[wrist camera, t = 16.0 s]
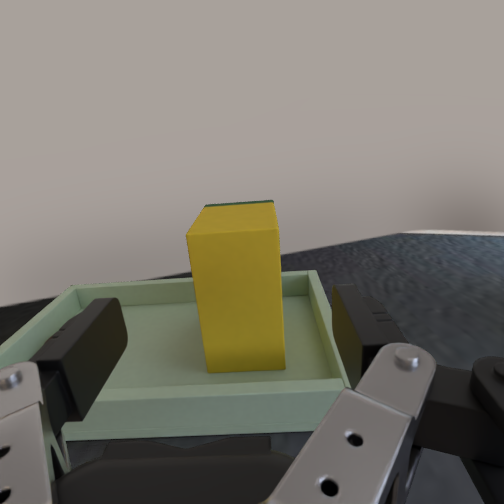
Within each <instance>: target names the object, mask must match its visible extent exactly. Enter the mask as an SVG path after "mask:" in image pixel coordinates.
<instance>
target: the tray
mask: <svg viewBox="0 0 504 504" xmlns="http://www.w3.org/2000/svg"><path fill="white" fill-rule="evenodd" d="M281 281H282V301H283V321H284V341H285V361H286V369H285V370H265V371H245V372H225V373H208V372H207V366H206V360H205V353H204V347H203V341H202V334H201V328H200V322H199V315H198V309H197V303H196V296H195V290H194V284H193V278H179V279H163V280H147V281H131V282H115V283H99V284H84V285H71V286H70V287H69V288H67V289H66V290H65V291H64V292H63V293H62V294H60V295H59V296H58V297H57V298H56V299H55V300H53V301H52V302H51V303H50V304H49V305H48V306H46V307H45V308H44V309H43V310H42V311H41V312H39V313H38V314H37V315H36V316H35V317H33V318H32V319H31V320H30V321H29V322H28V323H26V324H25V325H24V326H23V327H22V328H21V329H19V330H18V331H17V332H16V333H15V334H14V335H12V336H11V337H10V338H9V339H8V340H7V341H5V342H4V343H3V344H2V345H1V346H0V369H1V368H3V367H6V366H8V365H11V364H14V363H18V362H23V361H28V360H29V359H30V358H31V357H32V356H33V355H34V354H35V353H36V352H37V351H38V350H39V349H40V348H41V347H42V346H43V345H44V343H45V342H46V341H47V340H48V339H49V338H50V337H51V336H52V335H54V334H55V333H56V332H57V331H59V329H60V328H61V327H62V326H63V325H64V324H65V323H66V322H67V321H68V320H69V319H71V318H72V317H74V316H76V315H77V314H79V313H80V312H82V311H83V310H84V309H85V308H86V307H87V306H88V305H89V304H90V303H91V302H92V301H93V300H94V299H96V298H113V297H116V298H117V299H118V300H119V302H120V305H121V309H122V313H123V317H124V321H125V325H126V328H127V333H128V343H127V347H126V349H125V351H124V353H123V355H122V356H121V358H120V360H119V361H118V363H117V365H116V366H115V368H114V370H113V371H112V373H111V375H110V376H109V378H108V380H107V381H106V383H105V385H104V386H103V388H102V390H101V391H100V393H99V395H98V396H97V398H96V400H95V401H94V403H93V405H92V406H91V408H90V410H89V411H88V413H87V415H86V416H85V418H84V420H83V421H82V422H65V424H64V425H63V427H62V431H63V434H64V436H65V441H73V440H99V439H124V438H149V437H174V436H199V435H225V434H250V433H275V432H300V431H315V429H316V428H317V426H318V425H319V423H320V422H321V420H322V419H323V417H324V416H325V414H326V413H327V411H328V410H329V408H330V407H331V405H332V404H333V402H334V401H335V400H336V398H337V397H338V395H339V394H340V392H341V391H342V390H343V389H344V388H345V387H349V388H351V386H350V383H349V381H348V378H347V375H346V372H345V369H344V366H343V363H342V360H341V357H340V355H339V352H338V349H337V346H336V343H335V340H334V337H333V331H332V310H331V308H330V305H329V303H328V300H327V298H326V295H325V292H324V290H323V287H322V285H321V282H320V280H319V277H318V275H317V272H316V270H310V271H292V272H281Z"/></svg>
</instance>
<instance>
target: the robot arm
mask: <svg viewBox="0 0 504 504" xmlns="http://www.w3.org/2000/svg"><path fill="white" fill-rule="evenodd" d="M332 331H333V337H334V340H335V343H336V346H337V349H338V352H339V355H340V357H341V360H342V363H343V366H344V369H345V372H346V375H347V378H348V381H349V383H350V386H351V388H349V387H345V388H344V389H343V390H342V391H341V392H340V394H339V395H338V397H337V398H336V400H335V401H334V402H333V404H332V405H331V407H330V408H329V410H328V411H327V413H326V414H325V416H324V417H323V419H322V420H321V422H320V423H319V425H318V426H317V428H316V429H315V431H314V432H313V433H312V435H311V436H310V438H309V439H308V441H307V442H306V444H305V445H304V447H303V448H302V450H301V451H300V453H299V454H298V456H297V457H296V459H295V458H293V457H291V456H289V455H287V454H284V453H281V452H278V451H274V450H271V440H270V436H255V437H230V438H226V439H222V440H219V441H215V442H211V443H207V444H204V445H200V446H196V447H193V448H188V449H184V448H179V447H174V446H170V445H165V444H161V443H157V442H152V441H121V442H109V443H108V445H107V447H106V449H105V451H104V453H103V455H102V457H100V458H97V459H94V460H91V461H89V462H86V463H84V464H82V465H80V466H78V467H76V468H74V469H73V470H72V469H71V465H70V460H69V455H68V450H67V446H66V441H65V436H64V434H63V431H62V427H63V425H64V424H65V422H82V421H83V420H84V418H85V416H86V415H87V413H88V411H89V410H90V408H91V406H92V405H93V403H94V401H95V400H96V398H97V396H98V395H99V393H100V391H101V390H102V388H103V386H104V385H105V383H106V381H107V380H108V378H109V376H110V375H111V373H112V371H113V370H114V368H115V366H116V365H117V363H118V361H119V360H120V358H121V356H122V355H123V353H124V351H125V349H126V347H127V343H128V333H127V328H126V325H125V321H124V317H123V313H122V309H121V305H120V302H119V300H118V299H117V298H116V297H113V298H96V299H94V300H93V301H92V302H91V303H90V304H89V305H88V306H87V307H86V308H85V309H84V310H83V311H82V312H80V313H79V314H77V315H76V316H74V317H72V318H71V319H69V320H68V321H67V322H66V323H65V324H64V325H63V326H62V327H61V328H60V329H59V331H57V332H56V333H55V334H54V335H53V336H52V339H49V340H48V341H47V342H46V343H45V344H44V345H43V346H42V347H41V348H40V349H39V350H38V351H37V352H36V353H35V354H34V355H33V356H32V357H31V358H30V359H29V360H28V361H23V362H18V363H14V364H11V365H8V366H6V367H3V368H1V369H0V504H405V503H406V500H407V497H408V494H409V491H410V488H411V485H412V482H413V479H414V476H415V472H416V469H417V466H418V463H419V460H420V457H421V454H422V451H423V448H428V449H432V450H436V451H440V452H444V453H448V454H452V455H456V456H459V457H460V458H461V460H462V462H463V464H464V466H465V468H466V470H467V472H468V473H469V475H470V477H471V479H472V481H473V483H474V485H475V487H476V488H477V490H478V492H479V494H480V496H481V498H482V500H483V502H484V503H485V504H504V358H501V357H482V358H479V359H477V360H476V361H475V362H474V364H473V368H472V371H468V370H462V369H456V368H450V367H445V366H441V365H437V364H436V362H435V360H434V358H433V357H432V356H431V355H430V354H429V353H428V352H427V351H425V350H424V349H422V348H420V347H417V346H415V345H411V344H409V343H408V341H407V340H406V338H405V337H404V335H403V334H402V332H401V331H400V329H399V328H398V327H397V325H396V324H395V322H394V321H393V320H392V318H391V316H390V315H389V314H388V312H387V310H386V309H385V308H384V306H383V305H382V303H380V302H379V301H377V300H376V299H374V298H373V297H371V296H366V297H362V295H361V294H360V292H359V290H358V289H357V287H356V285H355V284H341V285H333V288H332Z"/></svg>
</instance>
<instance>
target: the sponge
mask: <svg viewBox="0 0 504 504" xmlns="http://www.w3.org/2000/svg"><path fill="white" fill-rule="evenodd" d="M186 239H187V245H188V252H189V258H190V265H191V271H192V277H193V284H194V290H195V296H196V303H197V309H198V315H199V322H200V328H201V334H202V341H203V347H204V353H205V360H206V366H207V372H208V373H225V372H245V371H265V370H285V369H286V361H285V341H284V321H283V301H282V281H281V261H280V243H279V242H280V241H279V227H278V222H277V217H276V212H275V207H274V201H273V200H265V201H252V202H237V203H225V204H224V203H223V204H210V205H205V206H204V208H203V209H202V211H201V212H200V214H199V216H198V217H197V219H196V220H195V222H194V223H193V225H192V226H191V228H190V229H189V231H188V232H187V234H186Z"/></svg>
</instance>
